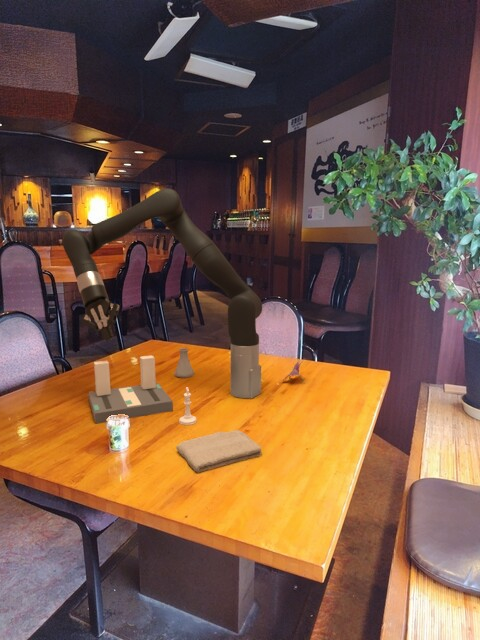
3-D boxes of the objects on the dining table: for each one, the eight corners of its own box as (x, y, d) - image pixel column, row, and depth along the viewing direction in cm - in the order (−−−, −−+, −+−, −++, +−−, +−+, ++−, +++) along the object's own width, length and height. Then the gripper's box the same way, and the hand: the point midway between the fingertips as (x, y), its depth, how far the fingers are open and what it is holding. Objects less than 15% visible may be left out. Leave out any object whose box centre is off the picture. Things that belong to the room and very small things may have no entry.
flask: (197, 374, 162) (197, 348, 160) (185, 379, 156) (184, 352, 154) (183, 371, 166) (182, 345, 164) (170, 376, 160) (169, 350, 158)
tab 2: (141, 386, 139) (139, 356, 137) (153, 384, 141) (152, 355, 139) (143, 389, 137) (141, 359, 135) (155, 387, 138) (154, 357, 136)
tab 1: (95, 392, 134) (93, 361, 132) (109, 391, 135) (107, 360, 133) (97, 396, 131) (95, 364, 129) (110, 394, 133) (108, 362, 131)
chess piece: (182, 426, 118) (181, 391, 116) (176, 419, 122) (175, 386, 121) (199, 422, 120) (198, 388, 118) (192, 416, 125) (192, 383, 123)
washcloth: (264, 456, 103) (264, 444, 103) (195, 476, 94) (195, 464, 94) (240, 436, 113) (240, 425, 113) (175, 453, 105) (175, 441, 104)
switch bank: (89, 401, 136) (88, 391, 135) (158, 391, 145) (157, 382, 144) (95, 423, 120) (95, 412, 119) (172, 410, 129) (172, 400, 128)
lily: (303, 378, 161) (292, 357, 161) (321, 375, 152) (309, 352, 152) (282, 393, 155) (271, 371, 155) (300, 390, 146) (288, 367, 146)
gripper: (116, 283, 137) (133, 332, 133) (80, 300, 138) (96, 349, 134) (105, 277, 130) (123, 328, 126) (66, 295, 131) (83, 346, 127)
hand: (109, 339), depth 130 cm, fingers closed
